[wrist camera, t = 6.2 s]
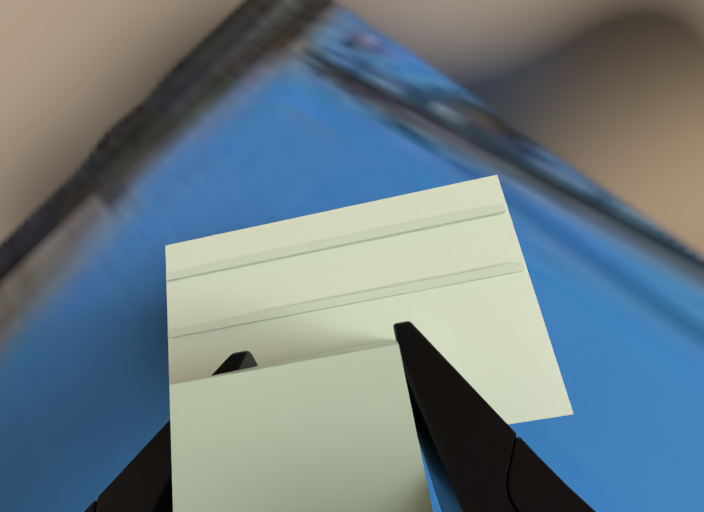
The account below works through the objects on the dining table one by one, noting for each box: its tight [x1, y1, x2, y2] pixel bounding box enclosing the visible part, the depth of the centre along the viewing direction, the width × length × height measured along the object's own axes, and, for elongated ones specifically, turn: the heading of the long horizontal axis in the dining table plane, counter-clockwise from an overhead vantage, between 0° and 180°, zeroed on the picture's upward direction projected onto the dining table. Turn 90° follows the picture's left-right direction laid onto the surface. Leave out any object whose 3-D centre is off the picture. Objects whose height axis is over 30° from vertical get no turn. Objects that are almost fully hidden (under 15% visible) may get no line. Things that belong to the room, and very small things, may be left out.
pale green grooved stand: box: [166, 175, 573, 512], centre depth 9 cm, size 8×13×8 cm, turn 100°
